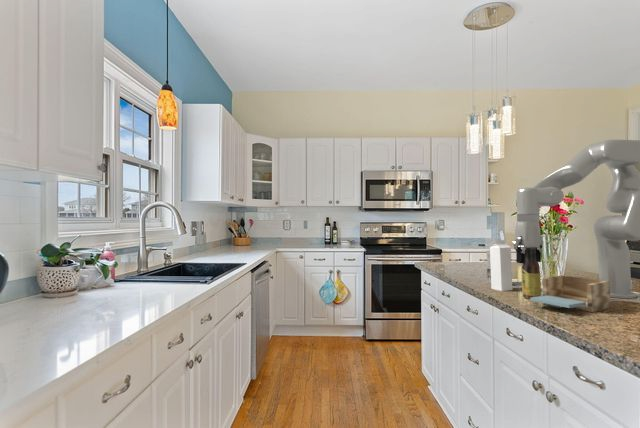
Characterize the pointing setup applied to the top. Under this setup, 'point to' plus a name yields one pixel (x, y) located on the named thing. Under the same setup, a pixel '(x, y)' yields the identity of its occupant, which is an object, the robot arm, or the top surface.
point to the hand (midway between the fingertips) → (528, 262)
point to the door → (558, 301)
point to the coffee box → (488, 267)
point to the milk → (501, 266)
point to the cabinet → (579, 291)
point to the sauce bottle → (531, 275)
